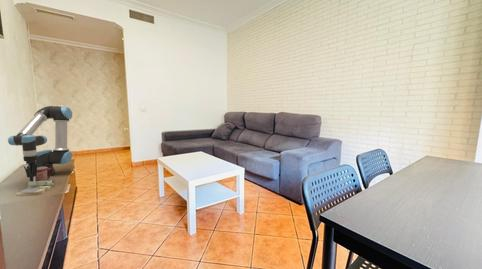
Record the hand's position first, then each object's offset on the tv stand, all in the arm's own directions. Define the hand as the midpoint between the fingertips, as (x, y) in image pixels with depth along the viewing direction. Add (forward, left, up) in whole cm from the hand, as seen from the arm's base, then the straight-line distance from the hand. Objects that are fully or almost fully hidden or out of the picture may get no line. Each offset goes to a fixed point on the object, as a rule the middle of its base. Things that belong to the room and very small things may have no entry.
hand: (33, 184), depth 167 cm
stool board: (+3, +3, -4) cm, 6 cm away
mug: (-14, -1, -4) cm, 15 cm away
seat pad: (+6, +2, -2) cm, 7 cm away
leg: (-3, +3, -2) cm, 5 cm away
